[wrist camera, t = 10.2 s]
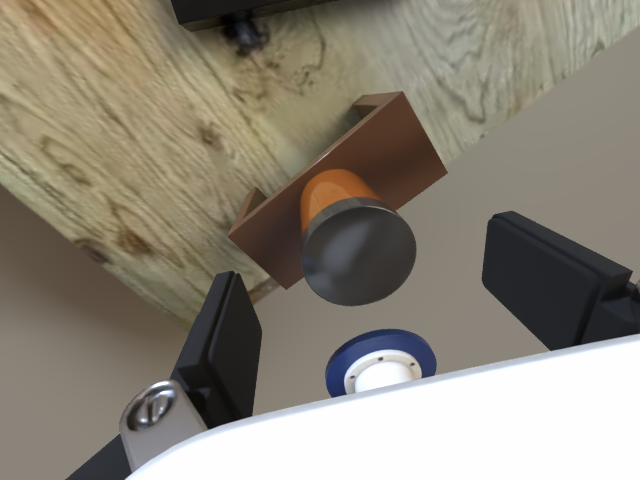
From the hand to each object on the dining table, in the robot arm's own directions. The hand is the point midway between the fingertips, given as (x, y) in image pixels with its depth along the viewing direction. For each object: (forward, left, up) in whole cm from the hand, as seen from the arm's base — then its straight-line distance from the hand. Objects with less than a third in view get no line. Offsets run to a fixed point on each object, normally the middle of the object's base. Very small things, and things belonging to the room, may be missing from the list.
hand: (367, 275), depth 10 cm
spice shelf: (0, 0, -18) cm, 18 cm away
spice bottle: (0, 0, -9) cm, 9 cm away
